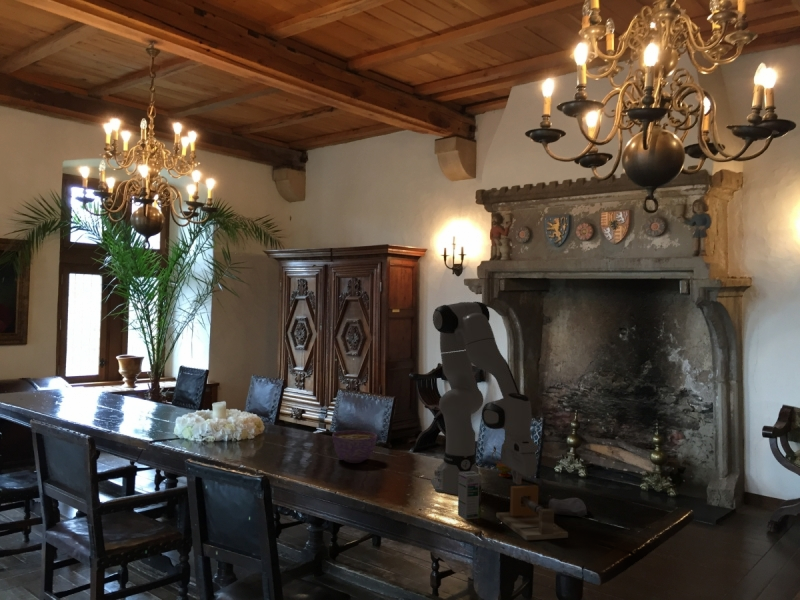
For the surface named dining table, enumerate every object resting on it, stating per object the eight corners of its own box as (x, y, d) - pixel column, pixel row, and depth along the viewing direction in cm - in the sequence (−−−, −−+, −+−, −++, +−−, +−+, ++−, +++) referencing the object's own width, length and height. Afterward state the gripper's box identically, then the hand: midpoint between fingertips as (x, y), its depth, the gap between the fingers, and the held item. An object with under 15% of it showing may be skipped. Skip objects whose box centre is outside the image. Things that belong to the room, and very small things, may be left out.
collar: (509, 513, 215) (510, 486, 215) (534, 512, 217) (535, 485, 217) (512, 515, 213) (513, 488, 213) (537, 514, 215) (538, 486, 216)
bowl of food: (376, 456, 301) (377, 431, 301) (376, 467, 281) (377, 440, 281) (332, 455, 300) (333, 429, 300) (329, 465, 280) (330, 438, 280)
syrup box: (465, 520, 215) (467, 475, 215) (457, 514, 220) (458, 471, 220) (480, 518, 217) (482, 474, 217) (472, 513, 222) (473, 470, 222)
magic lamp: (519, 482, 264) (520, 455, 264) (485, 472, 277) (486, 446, 277) (530, 479, 268) (531, 452, 268) (496, 470, 282) (497, 444, 282)
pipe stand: (496, 517, 219) (497, 491, 219) (534, 514, 223) (535, 489, 223) (526, 540, 198) (527, 512, 198) (567, 537, 202) (568, 509, 202)
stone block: (589, 522, 223) (580, 507, 233) (590, 509, 222) (581, 494, 232) (554, 522, 223) (547, 507, 233) (555, 509, 222) (547, 495, 232)
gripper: (496, 436, 230) (495, 476, 230) (522, 449, 210) (522, 492, 210) (512, 436, 232) (512, 475, 232) (540, 448, 212) (539, 491, 212)
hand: (517, 483), depth 221 cm, fingers closed
